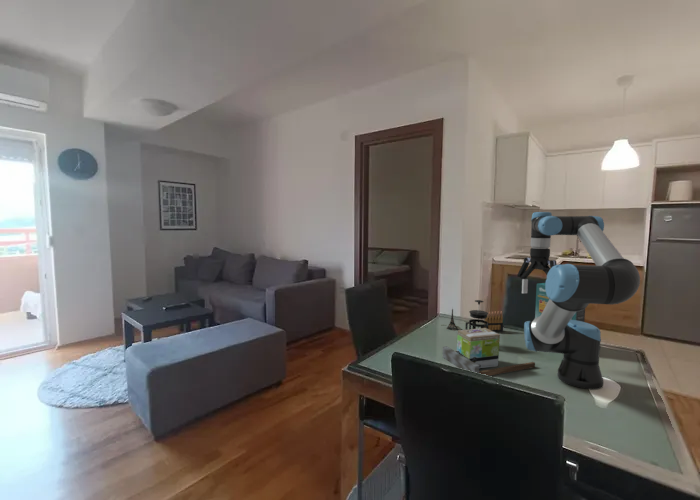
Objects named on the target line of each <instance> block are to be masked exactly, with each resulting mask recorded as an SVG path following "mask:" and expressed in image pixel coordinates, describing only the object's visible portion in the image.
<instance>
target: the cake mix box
mask: <svg viewBox="0 0 700 500" xmlns="http://www.w3.org/2000/svg"><path fill="white" fill-rule="evenodd" d="M545 283H546V282H542V283H540V282H539V283H536V287H535V288H536V291H535V307H534V308H535V311H534V314H535V315H534V319H535V318H537V317H539V316H541V314H542V312H543V310H544V308H545V307H546V305H547V303H548V301H549V298H548V297H547V294H546V290H545ZM585 316H586V308H585V309H583V310H581V311H577V312H576V313H575V314H574V316H573V317H572V319H571V320H577V321H582V322H585V318H586V317H585Z"/></svg>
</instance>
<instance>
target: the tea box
mask: <svg viewBox="0 0 700 500" xmlns="http://www.w3.org/2000/svg"><path fill="white" fill-rule="evenodd" d="M500 336H501V335H500V334H499V333H498V332H493V331H491V330H489V329H487V328H481V327H479V329H478V328H476V329H472V328H471V329H469V328H467V330H465V329H462V330H460V329H457V338H456V340H457V341H456V351H457V353H459V354H460V355H462V356H464V357H465V358H467V359H469V360H470V361H472V362H474V363H476V364H477V365H479V369H485V368H486V369H487V368H498V366H499V359H500V358H499V357H500V355H499V354H500V342H501V337H500Z"/></svg>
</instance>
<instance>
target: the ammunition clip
mask: <svg viewBox="0 0 700 500" xmlns="http://www.w3.org/2000/svg"><path fill="white" fill-rule="evenodd" d="M485 312H488V310H486V311H485ZM503 317H504V316H503V311H502V310H497V311H496V310H492V311H491V310H489V312H488V315H487V318H485V319H484V321H487V322H488V326H487V329H489V330H491V331H493V332H495V333H498V332H502V333H503V332H504V322H503V319H504V318H503ZM483 324H485V323H483ZM484 328H485V327H484Z"/></svg>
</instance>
